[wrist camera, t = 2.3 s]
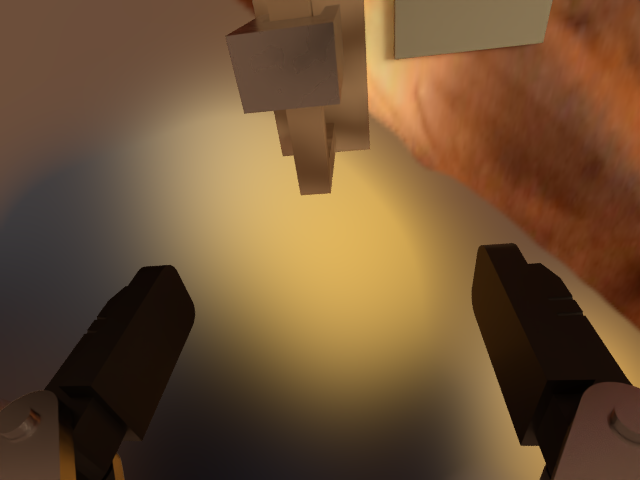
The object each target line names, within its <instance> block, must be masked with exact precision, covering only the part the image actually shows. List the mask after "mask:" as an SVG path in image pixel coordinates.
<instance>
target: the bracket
mask: <svg viewBox="0 0 640 480" xmlns="http://www.w3.org/2000/svg"><path fill="white" fill-rule="evenodd" d="M226 40H227V45H228V49H229V52H230V57H231V61H232V65H233V69H234V73H235V77H236V81H237V85H238V89H239V93H240V97H241V102H242V105H243V109H244V113H254V112H265V111H275V110H285V109H295V108H305V107H316V106H326V105H336V104H340V101H341V93H342V84H343V75H344V53H343V40H342V27H341V13H340V4H337V5H330V6H325V8H324V9H323V11H322V12H321V14H320V15H315V16H308V17H300V18H293V19H286V20H278V21H271V22H270V19H269V14H265V15H261V16H259V17H257V18H255V19H254V20H252V21H250V22H249V23H247V24H245V25H244V26H242V27H240V28H238V29H237V30H235V31H233V32H232V33H230V34H228V35H227V36H226Z"/></svg>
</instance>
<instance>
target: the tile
mask: <svg viewBox="0 0 640 480" xmlns="http://www.w3.org/2000/svg"><path fill="white" fill-rule="evenodd" d="M551 5H552V0H395V2H394V58H395V59H404V58H413V57H421V56H430V55H439V54H448V53H457V52H465V51H474V50H483V49H492V48H501V47H509V46H518V45H527V44H536V43H543V41H544V36H545V32H546V27H547V23H548V18H549V14H550V9H551Z"/></svg>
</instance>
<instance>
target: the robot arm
mask: <svg viewBox="0 0 640 480" xmlns="http://www.w3.org/2000/svg"><path fill="white" fill-rule="evenodd" d="M472 305H473V310H474V314H475V317H476V320H477V323H478V326H479V328H480V331H481V334H482V337H483V340H484V343H485V345H486V348H487V351H488V354H489V357H490V360H491V363H492V365H493V368H494V371H495V374H496V377H497V379H498V382H499V385H500V388H501V391H502V394H503V396H504V399H505V402H506V405H507V408H508V411H509V414H510V417H511V420H512V422H513V425H514V428H515V431H516V434H517V436H518V439H519V442H520V445H521V446H539V447H540V449H541V452H542V454H543V457H544V459H545V462H546V465H545V467H544V469H543V472H542V475H541V477H540V480H640V389H639V388H637V387H634V386H633V385H632V384H631V383H630V381H629V380H628V379H627V377H626V376H625V374H624V373H623V371H622V370H621V369H620V367H619V365H618V364H617V362H616V361H615V359H614V358H613V357H612V355H611V353H610V352H609V351H608V349H607V347H606V346H605V345H604V343H603V342H602V340H601V339H600V337H599V335H598V334H597V332H596V331H595V329H594V328H593V326H592V325H591V323H590V322H589V320H588V319H587V318H586V316H583V311H582V310H581V308H580V307H579V305H578V304H577V302H576V301H575V300H573V299H572V295H571V293H570V292H569V290H568V289H567V287H566V286H565V284H564V283H563V281H562V280H561V278H560V277H558V276H557V275H556V274H554V273H553V272H552V271H550V270H549V269H548V268H546V267H545V266H544V265H542V264H541V263H535V264H527V262H526V260H525V258H524V257H523V256H522V253H521V252H520V250H519V248H518V247H517V245H516V244H513V243H509V244H494V245H481V246H480V247H479V249H478V252H477V259H476V265H475V272H474V279H473V286H472ZM194 319H195V308H194V304H193V302H192V300H191V298H190V296H189V294H188V292H187V290H186V288H185V286H184V284H183V282H182V280H181V278H180V276H179V274H178V272H177V270H176V269H175V268H174V267H173V266H171V265H162V266H147V267H142V268H141V269H140V270H139V271H138V272H137V274H136V275H135V276H134V278H133V280H132V281H131V282H130V284H129V285H128V286H125V287H124V288H123V289H122V290H121V291H120V292H118V293H117V294H116V295H115V296H114V297H112V298H111V299H110V300H109V301H108V302H107V304H106V305H105V306H104V308H103V309H102V310H101V312H100V313H99V315H98V316H97V320H94V322H93V323H92V324H91V326H90V327H89V329H88V332H87V334H84V336H83V337H82V338H81V340H80V341H79V342H78V344H77V345H76V347H75V348H74V349H73V351H72V352H71V354H70V355H69V356H68V358H67V359H66V360H65V362H64V363H63V365H62V366H61V367H60V369H59V370H58V372H57V373H56V374H55V376H54V377H53V378H52V380H51V381H50V382H49V384H48V385H47V386H46V388H45V389H44V390H39V391H34V392H31V393H28V394H26V395H24V396H21V397H20V398H18V399H16V400H14V401H13V402H12V403H10V404H9V405H7V406H6V407H5V408H4V409H2V410H1V411H0V480H124V474H123V468H122V463H121V459H120V456H119V455H118V453H117V451H118V449H119V446H120V444H121V442H122V441H142V440H143V437H144V435H145V433H146V431H147V429H148V426H149V424H150V422H151V419H152V417H153V415H154V413H155V410H156V408H157V406H158V403H159V401H160V399H161V397H162V394H163V392H164V390H165V388H166V385H167V383H168V381H169V378H170V376H171V374H172V372H173V369H174V367H175V365H176V363H177V360H178V358H179V355H180V353H181V351H182V349H183V346H184V344H185V342H186V340H187V338H188V335H189V333H190V331H191V328H192V326H193V323H194Z"/></svg>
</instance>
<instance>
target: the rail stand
mask: <svg viewBox="0 0 640 480" xmlns="http://www.w3.org/2000/svg"><path fill="white" fill-rule="evenodd" d="M252 2H253V7H254V12H255V17H256V18H257V17H259V16H261V15H265V14H269V19H270V22H271V21H278V20H286V19H293V18H300V17H308V16H315V15H320V14H321V12H322V11H323V9H324V8H325V6H330V5H337V4H340V13H341V27H342V40H343V53H344V75H343V84H342V93H341V101H340V104H336V105H326V106H316V107H305V108H295V109H285V110H275V111H274V114H275V119H276V124H277V129H278V134H279V139H280V144H281V149H282V154H283V156H290V155H294V159H295V165H296V171H297V176H298V182H299V188H300V193H301V195H310V194H325V193H331V186H332V177H333V168H334V159H335V152H340V151H353V150H365V149H370V141H369V117H368V93H367V68H366V44H365V19H364V0H252Z"/></svg>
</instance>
